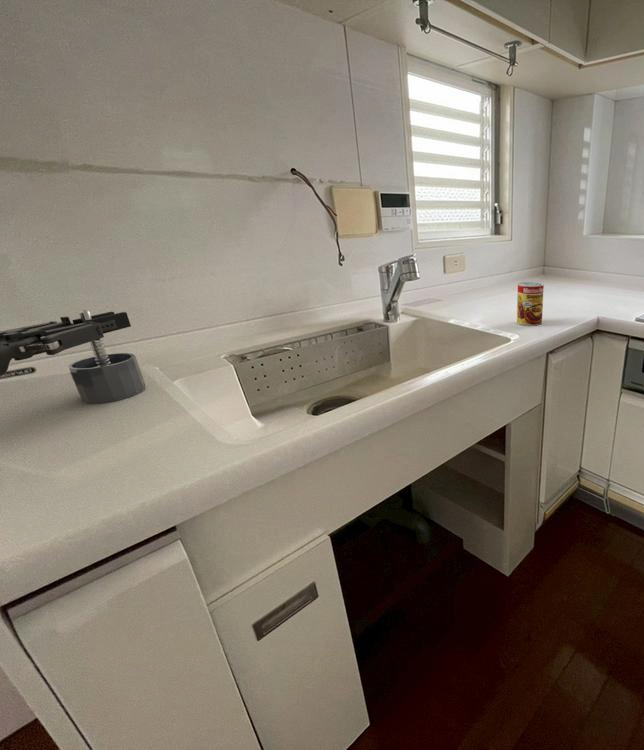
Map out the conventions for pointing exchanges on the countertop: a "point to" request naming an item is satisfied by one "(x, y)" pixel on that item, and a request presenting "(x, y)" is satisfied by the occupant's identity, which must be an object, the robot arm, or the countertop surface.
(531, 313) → the canned food
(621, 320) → the countertop surface
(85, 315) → the screw
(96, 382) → the steel cup
